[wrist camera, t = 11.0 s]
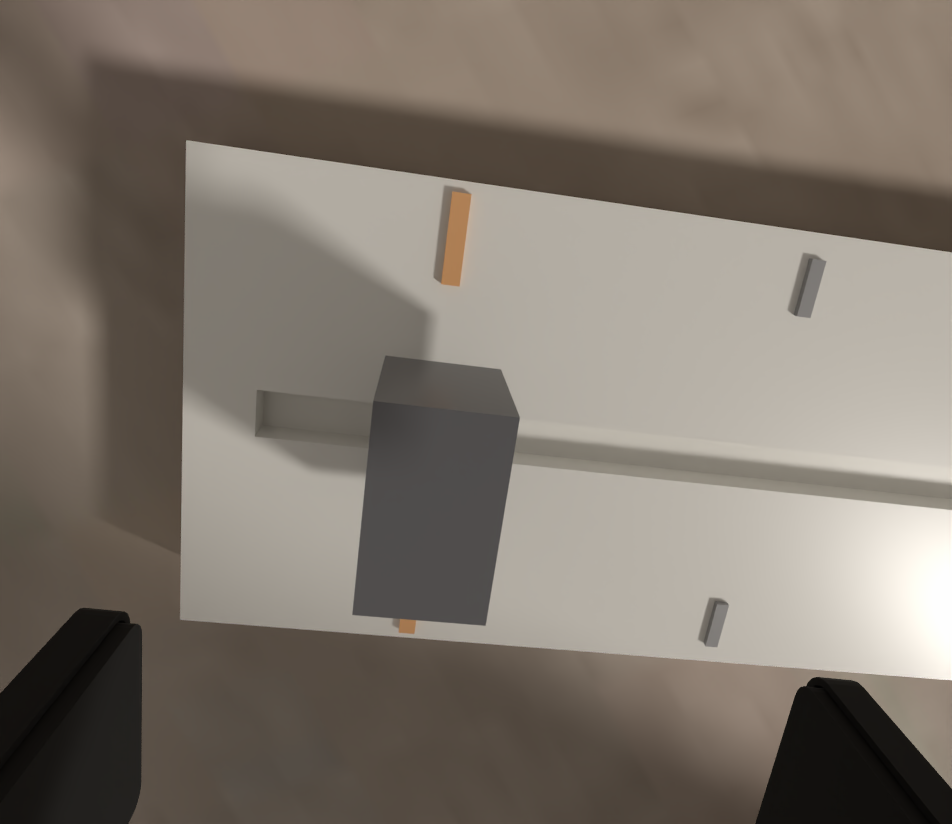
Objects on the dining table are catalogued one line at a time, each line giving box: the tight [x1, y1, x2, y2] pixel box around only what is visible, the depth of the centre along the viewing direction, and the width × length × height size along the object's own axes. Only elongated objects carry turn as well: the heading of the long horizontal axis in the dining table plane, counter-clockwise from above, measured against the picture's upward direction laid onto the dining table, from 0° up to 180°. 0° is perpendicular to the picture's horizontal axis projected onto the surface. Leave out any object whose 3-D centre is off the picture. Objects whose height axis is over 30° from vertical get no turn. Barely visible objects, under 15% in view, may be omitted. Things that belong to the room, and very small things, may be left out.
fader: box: [352, 356, 520, 626], centre depth 18 cm, size 5×3×6 cm, turn 172°
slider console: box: [180, 140, 952, 680], centre depth 22 cm, size 14×34×3 cm, turn 82°
